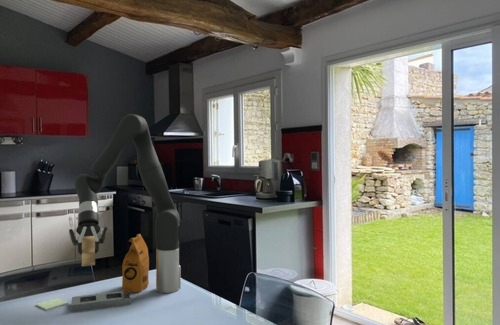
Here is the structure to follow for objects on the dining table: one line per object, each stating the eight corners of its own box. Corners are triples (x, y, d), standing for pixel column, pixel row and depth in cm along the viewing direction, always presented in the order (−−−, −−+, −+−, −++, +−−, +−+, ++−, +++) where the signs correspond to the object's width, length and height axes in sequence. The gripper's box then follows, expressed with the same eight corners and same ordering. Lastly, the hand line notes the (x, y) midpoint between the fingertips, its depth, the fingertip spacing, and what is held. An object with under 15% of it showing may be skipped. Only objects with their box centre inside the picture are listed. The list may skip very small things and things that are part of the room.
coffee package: (117, 292, 156) (118, 238, 156) (130, 283, 168) (130, 233, 168) (141, 293, 155) (141, 239, 155) (152, 284, 167) (152, 233, 167)
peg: (94, 262, 144) (94, 235, 144) (94, 265, 140) (95, 237, 140) (81, 263, 143) (82, 236, 143) (81, 266, 139) (81, 238, 139)
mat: (57, 299, 148) (57, 297, 148) (68, 304, 143) (68, 302, 143) (35, 305, 141) (35, 303, 141) (46, 310, 137) (46, 308, 137)
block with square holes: (127, 296, 151) (127, 290, 151) (130, 304, 143) (130, 297, 143) (72, 303, 144) (72, 296, 144) (71, 312, 135) (71, 305, 135)
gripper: (68, 210, 146) (66, 248, 135) (108, 208, 151) (109, 245, 140) (68, 222, 151) (67, 260, 139) (107, 220, 156) (108, 256, 145)
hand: (88, 252), depth 140 cm, fingers closed on peg, 4 cm apart
